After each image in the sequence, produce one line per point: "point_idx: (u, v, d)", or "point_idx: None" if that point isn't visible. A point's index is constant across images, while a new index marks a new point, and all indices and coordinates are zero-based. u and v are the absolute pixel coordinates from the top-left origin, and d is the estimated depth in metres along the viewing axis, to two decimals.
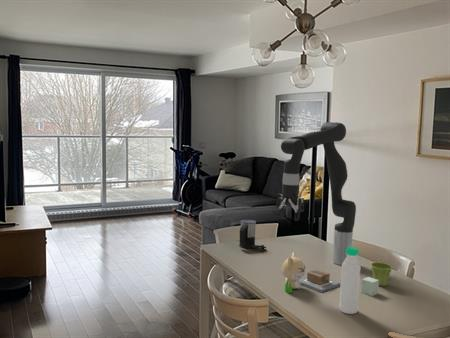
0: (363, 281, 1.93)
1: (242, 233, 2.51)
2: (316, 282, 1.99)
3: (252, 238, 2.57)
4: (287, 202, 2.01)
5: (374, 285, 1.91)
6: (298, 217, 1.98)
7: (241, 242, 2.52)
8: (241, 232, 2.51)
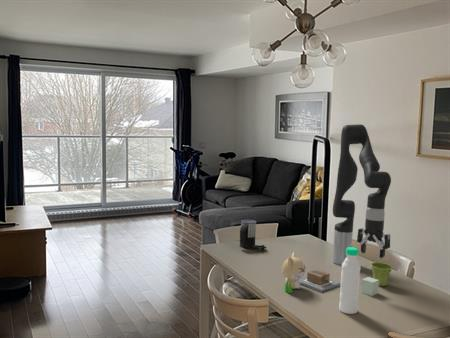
0: (363, 281, 1.93)
1: (242, 233, 2.51)
2: (316, 282, 1.99)
3: (252, 238, 2.57)
4: (371, 238, 1.91)
5: (374, 285, 1.91)
6: None
7: (241, 242, 2.52)
8: (241, 232, 2.51)
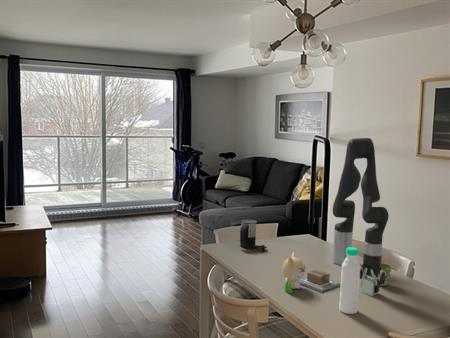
0: (363, 281, 1.93)
1: (243, 233, 2.51)
2: (316, 282, 1.99)
3: (253, 238, 2.57)
4: (369, 272, 1.93)
5: None
6: (378, 290, 1.91)
7: (242, 242, 2.52)
8: (241, 232, 2.51)
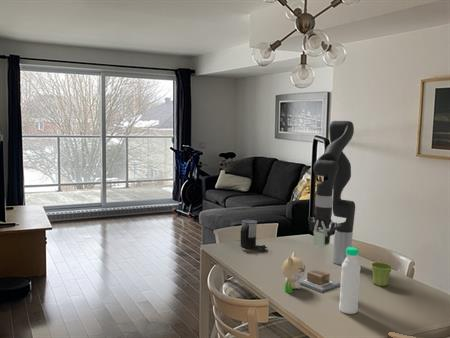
0: (315, 233, 1.99)
1: (243, 233, 2.51)
2: (316, 282, 1.99)
3: (253, 238, 2.57)
4: (320, 224, 1.99)
5: None
6: (328, 241, 1.98)
7: (242, 242, 2.52)
8: (242, 232, 2.51)
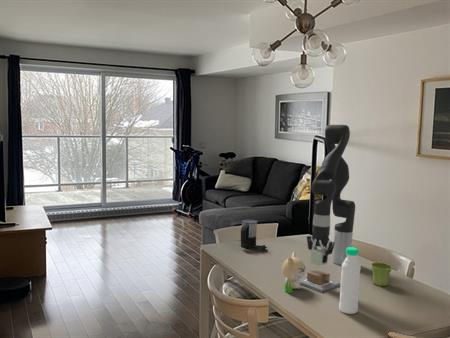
0: (312, 251, 2.01)
1: (243, 233, 2.51)
2: (316, 282, 1.99)
3: (253, 238, 2.57)
4: (318, 243, 2.00)
5: (322, 255, 1.98)
6: (326, 260, 1.99)
7: (242, 242, 2.52)
8: (242, 232, 2.51)
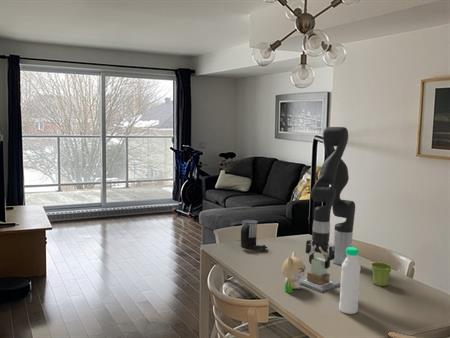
0: (312, 261, 2.01)
1: (243, 233, 2.51)
2: (316, 282, 1.99)
3: (253, 238, 2.56)
4: (317, 249, 2.00)
5: (322, 265, 1.99)
6: None
7: (242, 242, 2.52)
8: (242, 232, 2.51)
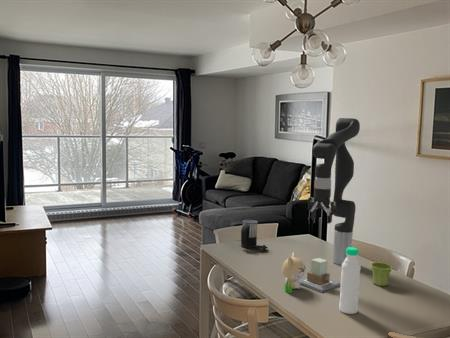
0: (312, 261, 2.01)
1: (243, 233, 2.51)
2: (316, 282, 1.99)
3: (254, 238, 2.56)
4: (319, 205, 2.06)
5: (322, 265, 1.99)
6: None
7: (242, 242, 2.52)
8: (242, 232, 2.51)
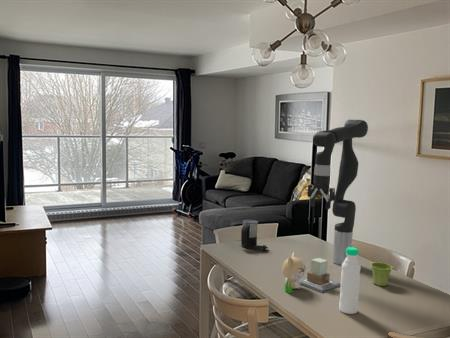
0: (312, 261, 2.01)
1: (244, 233, 2.51)
2: (316, 282, 1.99)
3: (254, 238, 2.56)
4: (318, 192, 2.13)
5: (322, 265, 1.99)
6: (329, 206, 2.11)
7: (243, 242, 2.52)
8: (243, 232, 2.51)
